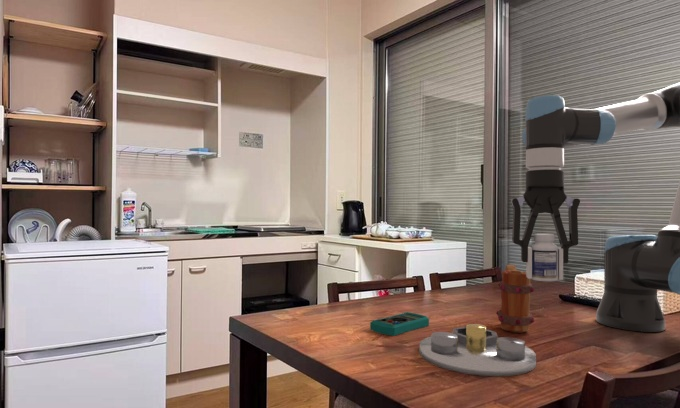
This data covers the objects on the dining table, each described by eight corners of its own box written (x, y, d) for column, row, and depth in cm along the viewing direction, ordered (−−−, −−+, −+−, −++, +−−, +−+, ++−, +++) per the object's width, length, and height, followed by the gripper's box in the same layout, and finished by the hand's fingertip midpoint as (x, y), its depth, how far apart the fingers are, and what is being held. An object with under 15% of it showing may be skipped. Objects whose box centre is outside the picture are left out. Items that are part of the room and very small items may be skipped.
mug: (536, 337, 107) (538, 271, 107) (499, 334, 109) (500, 269, 109) (524, 321, 121) (525, 264, 122) (492, 319, 123) (493, 262, 123)
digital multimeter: (367, 332, 110) (368, 319, 110) (406, 322, 121) (406, 310, 121) (391, 338, 105) (392, 325, 105) (430, 327, 115) (430, 315, 115)
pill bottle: (535, 277, 103) (535, 233, 104) (561, 279, 100) (561, 234, 100) (527, 279, 99) (527, 234, 99) (554, 282, 96) (554, 235, 96)
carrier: (526, 345, 100) (527, 317, 100) (546, 382, 79) (546, 347, 79) (422, 336, 105) (423, 310, 105) (415, 368, 84) (415, 336, 84)
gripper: (586, 170, 101) (586, 277, 101) (497, 171, 106) (497, 274, 106) (597, 167, 94) (597, 282, 94) (501, 168, 98) (500, 279, 98)
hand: (544, 277), depth 100 cm, fingers closed on pill bottle, 5 cm apart
